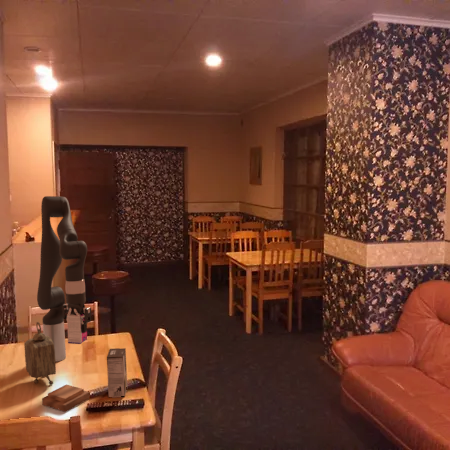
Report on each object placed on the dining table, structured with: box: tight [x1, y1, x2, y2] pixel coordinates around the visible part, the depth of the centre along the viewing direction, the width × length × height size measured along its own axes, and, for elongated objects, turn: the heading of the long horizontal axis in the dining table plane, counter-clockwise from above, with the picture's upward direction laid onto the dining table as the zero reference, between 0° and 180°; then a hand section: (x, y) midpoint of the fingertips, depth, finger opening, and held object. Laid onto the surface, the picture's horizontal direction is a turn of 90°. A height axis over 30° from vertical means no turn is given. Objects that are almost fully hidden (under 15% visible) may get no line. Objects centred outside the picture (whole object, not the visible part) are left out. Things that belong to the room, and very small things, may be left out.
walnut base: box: [41, 384, 91, 413], centre depth 188 cm, size 12×12×4 cm
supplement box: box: [66, 314, 88, 345], centre depth 202 cm, size 6×6×12 cm
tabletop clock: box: [23, 321, 57, 386], centre depth 205 cm, size 14×9×25 cm, turn 32°
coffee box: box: [106, 347, 128, 398], centre depth 194 cm, size 9×6×16 cm
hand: (77, 331), depth 202 cm, fingers closed on supplement box, 6 cm apart
